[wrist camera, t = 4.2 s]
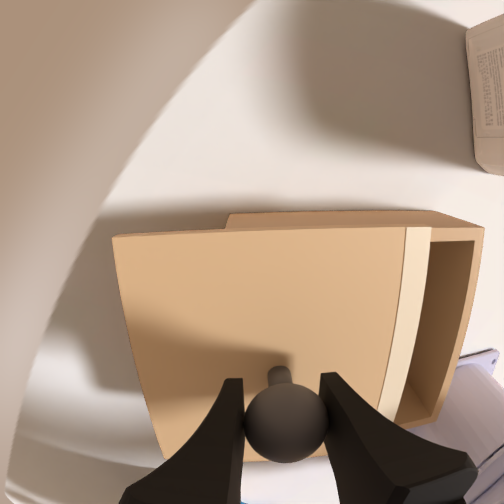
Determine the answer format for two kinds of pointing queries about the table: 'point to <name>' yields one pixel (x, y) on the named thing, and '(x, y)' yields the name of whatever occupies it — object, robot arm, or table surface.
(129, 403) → the table surface
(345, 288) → the lid
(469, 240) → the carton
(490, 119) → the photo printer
